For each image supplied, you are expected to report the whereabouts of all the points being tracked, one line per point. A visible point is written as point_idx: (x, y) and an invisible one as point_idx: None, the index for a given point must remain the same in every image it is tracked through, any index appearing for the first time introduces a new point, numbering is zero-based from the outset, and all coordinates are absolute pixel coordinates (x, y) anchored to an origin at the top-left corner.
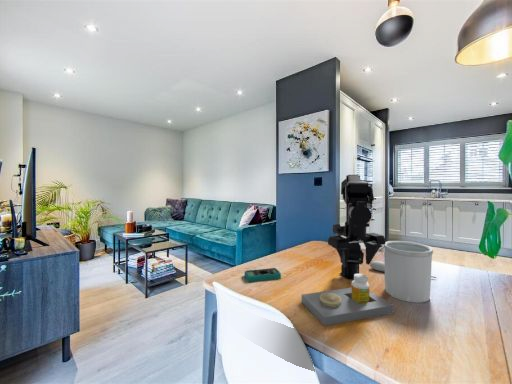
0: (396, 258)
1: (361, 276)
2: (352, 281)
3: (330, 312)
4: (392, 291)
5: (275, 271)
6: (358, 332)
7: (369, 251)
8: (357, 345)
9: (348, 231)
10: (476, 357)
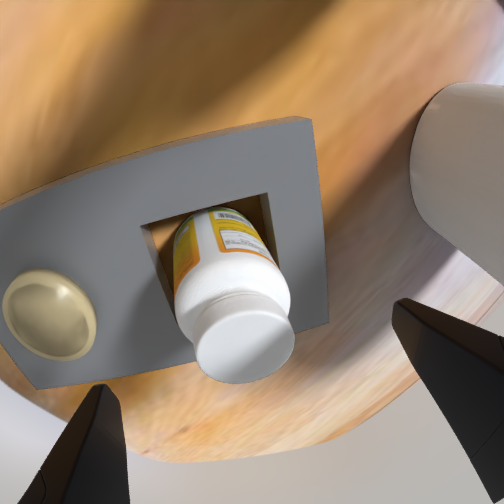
0: None
1: (246, 362)
2: (186, 296)
3: (53, 371)
4: (423, 184)
5: None
6: (136, 393)
7: (483, 418)
8: None
9: None
10: (344, 417)
